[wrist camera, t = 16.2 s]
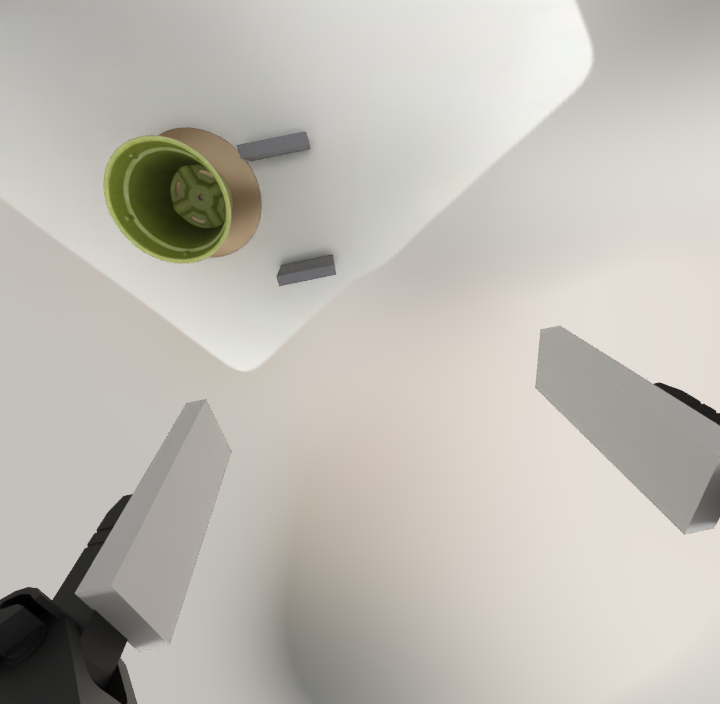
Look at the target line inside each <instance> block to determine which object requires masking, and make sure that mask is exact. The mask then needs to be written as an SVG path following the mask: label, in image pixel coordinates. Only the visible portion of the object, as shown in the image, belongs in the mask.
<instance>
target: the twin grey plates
mask: <svg viewBox="0 0 720 704" xmlns="http://www.w3.org/2000/svg"><path fill="white" fill-rule="evenodd" d="M237 147H238V151H239V154H240V157H241V159H245V160H250V161H253V160H258V159H263V158H268V157H273V156H278V155H283V154H288V153H293V152H298V151H303V150H308V149H310V147H309V142H308V137H307V134H306V132H301V133H296V134H291V135H286V136H281V137H276V138H271V139H266V140H261V141H256V142H251V143H246V144H241V145H237ZM331 275H336V270H335V264H334V259H333V255H329V256H324V257H319V258H314V259H309V260H304V261H299V262H295V263H290V264H285V265H281V267H280V270H279V272H278V274H277V280H278V283H279V286H282V285H287V284H292V283H297V282H302V281H307V280H311V279H316V278H321V277H326V276H331Z"/></svg>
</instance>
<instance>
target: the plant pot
mask: <svg viewBox="0 0 720 704" xmlns="http://www.w3.org/2000/svg"><path fill="white" fill-rule="evenodd" d="M200 170H205V171H208V172H210V173H211V174H212V175H213V177H212V178H211V177H209V176H207V175H205V174H202V173H199V171H200ZM177 182H180V183H181V184H180V188H179V195H178V196H177V195H176V183H177ZM104 194H105V198H106V203H107V206H108V209H109V212H110V214H111V216H112V218H113V219H114V221H115V223H116V225H117V226H118V228H119V229H120V230H121V232H122V233H123V234H124V235H125V236H126V237H127V238H128V239H129V240H130V241H131V242H132V243H133V244H134V245H135V246H136V247H138V248H139V249H140V250H142V251H143V252H145V253H147V254H149V255H151V256H153V257H155V258H158V259H160V260H163V261H167V262H172V263H193V262H198V261H201V260H203V259H206V258H208V257H210V256H211V255H213V254H214V253H215V252H216V251H217V250H218V249H219V248H220V247H221V246H222V245H223V243H224V242H225V240H226V238H227V236H228V233H229V230H230V226H231V217H232V214H231V213H232V210H233V196H232V192H231V190H230V188H229V186H228V184H227V182H226V181H225V179H224V178H223V177H222V175H220V174H219V173H218V172H217V171H216V170H215V168H214V167H213V166H212V165H211V164H210V162H209V161H208V160H207V159H206V158H205V157H203V156H202V155H201V154H200V153H199V152H197V151H196V150H195V149H193V148H191V147H190V146H188V145H186V144H184V143H182V142H180V141H177V140H175V139H171V138H168V137H163V136H142V137H138V138H134V139H132V140H129V141H127V142H126V143H124V144H123V145H121V146H120V147H119V148H118V149H117V150H116V151H115V152H114V154H113V155H112V157H111V158H110V160H109V162H108V164H107V167H106V170H105V175H104ZM199 195H203V197H204V199H203V200H200V199H199ZM224 205H225V206H226V212H223V210H224ZM192 216H193V217H196V218H197V219H200V220H204V221H205V223H203V224H201V223H199V222H196V221H194V220H193V219H192Z"/></svg>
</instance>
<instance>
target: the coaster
mask: <svg viewBox="0 0 720 704" xmlns="http://www.w3.org/2000/svg"><path fill="white" fill-rule="evenodd" d="M158 136H163V137H168V138H171V139H175V140H177V141H180V142H182V143H184V144H186V145H188V146H190V147H191V148H193V149H195V150H196V151H197V152H199V153H200V154H201V155H202V156H203V157H205V158H206V159H207V160H208V161H209V162H210V164H211V165H212V166H213V167H214V168H215V170H216V171H217V172H218V173H219V174H220V175H222V177H223V178H224V179H225V181H226V182H227V184H228V186H229V188H230V190H231V192H232V196H233V210H232V213H231V214H232V217H231V226H230V230H229V233H228V236H227V238H226V240H225V242H224V243H223V245H222V246H221V247H220V248H219V249H218V250H217V251H216V252H215V253H214V254H213V255H211V256H210V257H220V256H225V255H228V254H231V253H233V252H235V251H237V250H239V249H240V248H242V247H243V246H244V245H245V244H246V243H247V242H248V241H249V240H250V239H251V237H252V236H253V234H254V233H255V231H256V229H257V226H258V224H259V220H260V215H261V195H260V190H259V186H258V183H257V180H256V177H255V175H254V173H253V171H252V169H251V168H250V166H249V164H248V163H247V161H246V160H245V159H241V157H240V154H239V152H238V151H237V150H236V149H235V148H234V147H233V146H232V145H230V144H229V143H228V142H227V141H225V140H223V139H222V138H220V137H218V136H216V135H214V134H212V133H210V132H207V131H204V130H200V129H195V128H177V129H172V130H169V131H166V132H164V133H162V134H160V135H158ZM199 173H202V174H205V175H207V176H209V177H211V178H212V177H213V175H212V174H211V173H210V172H208V171H205V170H200V171H199ZM180 184H181V183H180V182H177V183H176V195H177V196H178V195H179V188H180ZM199 199H200V200H203V199H204V197H203V195H199ZM223 212H226V206H225V205H224V210H223ZM192 219H193V220H194V221H196V222H199V223H201V224H203V223H205V221H204V220H200V219H197V218H196V217H193V216H192Z"/></svg>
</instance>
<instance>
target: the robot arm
mask: <svg viewBox="0 0 720 704" xmlns="http://www.w3.org/2000/svg"><path fill="white" fill-rule="evenodd" d="M535 388H536V389H537V390H538V391H539V392H540V393H541V394H542V395H544V397H545V398H546V399H547V400H548V401H549V402H551V404H552V405H553V406H554V407H556V408H557V410H558V411H559V412H561V413H562V414H563V415H564V416H565V417H566V418H567V419H568V420H569V421H570V422H571V423H572V424H573V425H574V426H575V427H576V428H577V429H578V430H579V431H580V432H581V433H582V434H583V435H584V436H585V437H586V438H587V439H588V440H589V441H590V442H591V443H592V444H593V445H594V446H595V447H596V448H597V449H598V450H599V451H600V452H601V453H602V454H603V455H604V456H605V457H606V458H607V459H608V460H609V461H610V462H611V463H612V464H613V465H614V466H616V468H617V469H618V470H620V472H621V473H622V474H623V475H624V476H625V477H626V478H627V479H629V480H630V482H632V483H633V484H634V485H635V486H636V487H637V488H638V489H639V490H640V491H641V492H642V493H643V494H644V495H645V496H646V497H647V498H648V499H649V500H650V501H651V502H652V503H653V504H654V505H655V506H656V507H657V508H658V509H659V510H660V511H661V512H662V513H663V514H664V515H665V516H666V517H667V518H668V519H669V520H670V521H671V522H672V523H673V524H674V525H675V526H676V527H677V528H678V529H679V530H680V531H681V532H682V533H683V534H690V533H695V532H699V531H704V530H709V529H713V528H714V527H715V525H716V524H717V522H718V520H719V518H720V413H716V410H714V409H712V408H711V407H708V406H707V405H705V404H701V403H700V401H699V400H697V399H695V398H694V397H692V396H690V395H688V394H687V393H685V392H683V391H682V390H679V389H676V388H673V387H671V386H668V385H665V384H662V383H655V384H652V383H651V382H649V381H648V380H646V379H644V378H643V377H641V376H640V375H638V374H636V373H635V372H633V371H632V370H630V369H628V368H627V367H625V366H623V365H622V364H620V363H619V362H617V361H616V360H614V359H612V358H611V357H609V356H608V355H606V354H604V353H603V352H601V351H599V350H598V349H596V348H595V347H593V346H592V345H590V344H588V343H587V342H585V341H584V340H582V339H580V338H578V337H577V336H576V335H574V334H572V333H571V332H569V331H568V330H566V329H564V328H563V327H561V326H556V327H551V328H547V329H541V331H540V342H539V353H538V364H537V375H536V386H535ZM231 452H232V451H231V449H230V447H229V445H228V443H227V441H226V439H225V437H224V435H223V433H222V431H221V428H220V427H219V425H218V422H217V420H216V418H215V416H214V414H213V412H212V410H211V408H210V406H209V404H208V402H207V400H206V399H205V400H200V401H194V402H190V403H186V405H185V406H184V408H183V410H182V411H181V413H180V415H179V417H178V418H177V420H176V422H175V424H174V425H173V427H172V428H171V430H170V432H169V434H168V436H167V437H166V439H165V441H164V442H163V444H162V445H161V447H160V449H159V451H158V452H157V454H156V456H155V457H154V459H153V461H152V463H151V464H150V466H149V468H148V469H147V471H146V473H145V474H144V476H143V478H142V480H141V481H140V483H139V485H138V486H137V488H136V490H135V491H134V493H133V494H131V495H126V496H123V497H122V499H120V500H119V501H118V503H117V504H116V505H115V506H114V507H113V508H112V509H111V510H110V511H109V512H108V513H107V514H106V516H105V518H104V519H103V521H102V522H101V524H100V526H99V527H98V529H97V533H95V534H94V535H93V537H92V538H91V540H90V541H89V543H88V547H87V548H85V549H84V551H83V553H82V554H81V556H80V557H79V559H78V560H77V562H76V564H75V565H74V567H73V568H72V570H71V571H70V573H69V575H68V576H67V578H66V579H65V581H64V583H63V584H62V586H61V587H60V589H59V591H58V592H57V594H56V595H55V597H54V598H53V600H51V599H49V598H48V597H47V596H46V595H45V594H44V593H42V592H41V591H40V590H39V589H37V588H31V587H27V588H24V589H21V590H18V591H15V592H13V593H11V594H10V595H8V596H6V597H4V598H3V599H1V600H0V704H137V701H136V698H135V695H134V691H133V688H132V685H131V681H130V678H129V674H128V671H127V668H126V665H125V664H124V662H123V661H122V659H121V658H120V657H121V654H122V652H123V650H124V647H125V645H126V642H127V641H128V642H129V643H130V644H131V645H132V646H133V647H134V648H135V649H137V650H138V651H139V652H140V651H145V650H149V649H154V648H159V647H163V646H168V645H170V642H171V639H172V636H173V633H174V630H175V626H176V623H177V620H178V617H179V614H180V611H181V608H182V605H183V602H184V598H185V595H186V592H187V589H188V586H189V583H190V580H191V576H192V573H193V570H194V567H195V564H196V561H197V558H198V555H199V552H200V549H201V545H202V542H203V539H204V536H205V533H206V530H207V527H208V524H209V520H210V517H211V514H212V511H213V508H214V505H215V502H216V499H217V495H218V492H219V489H220V486H221V483H222V480H223V477H224V474H225V470H226V467H227V464H228V461H229V458H230V455H231Z"/></svg>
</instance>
